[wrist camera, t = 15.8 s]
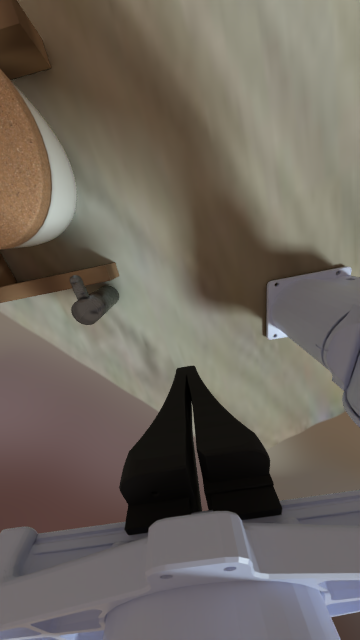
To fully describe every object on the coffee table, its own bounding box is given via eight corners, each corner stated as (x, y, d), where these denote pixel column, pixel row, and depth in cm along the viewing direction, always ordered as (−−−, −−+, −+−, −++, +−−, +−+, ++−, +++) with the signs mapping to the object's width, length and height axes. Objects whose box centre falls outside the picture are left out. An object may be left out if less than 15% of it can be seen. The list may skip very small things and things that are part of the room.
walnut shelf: (41, 38, 13) (5, -17, 10) (119, 275, 20) (110, 280, 17) (-115, 85, 14) (-187, 45, 11) (13, 297, 21) (-12, 305, 18)
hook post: (108, 265, 20) (82, 273, 14) (121, 302, 21) (102, 322, 16) (89, 269, 20) (55, 279, 14) (103, 306, 22) (78, 326, 16)
